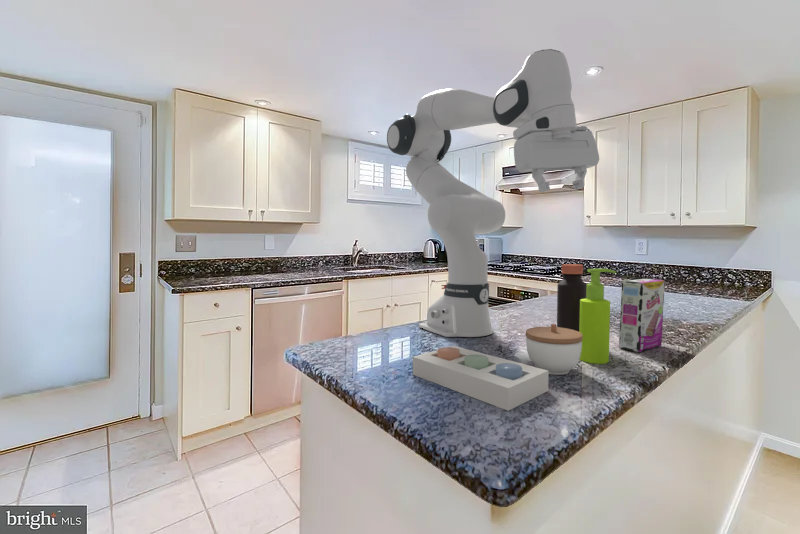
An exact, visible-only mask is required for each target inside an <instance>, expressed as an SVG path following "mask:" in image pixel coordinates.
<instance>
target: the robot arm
mask: <svg viewBox="0 0 800 534" xmlns="http://www.w3.org/2000/svg"><path fill="white" fill-rule="evenodd" d="M572 85H573V84H572V78H571V72H570V67H569V64H568V61H567V58H566V56H565V54H564V52H562V51H560V50H556V49H552V48H549V49H541V50H538V51H534V52H533V53H530V54H529V55H528V56H527V58H526V59H525V61H524V64H523V66H522V69H521V70H519V72H518V73H517V74H516V76H514V78H512V80H511V81H510V82H508V83H507V84H505V85H504V84H503V86H502V87H500V88H499V90H498V91H497V92H496V94H495V96H494V97H493V96H488V95H484V94H480V93H478V92H473V91H470V90H466V89H461V88H444V89H439V90H435V91H432V92H429V93H428V94H426V95H424V96H423V97H422V98H420V99H419V101H418V103H417V106H416V112H415V114H413V115H411V114H409V113H406V114H404V115H403V116H402V117H400V118H398V119H396V120H395V121H394V122H392V123H391V124H390V125H389V127H388V129H387V133H386V142H387V146H388V148H389V150H390V151H391V152H392V153H394V154H396V155H399V156H409V157H410V159H409V161H408V162H407V165H406V167H405V175H406V177H407V178H408V181H409V183H410V184H411V185H412V187H413V188H414V189H415V191H416V192H417V193H418V194H419V195H420V197H422V198H423V199H424V200H425V201H426V202H427V203H428V204H429V206H428V209H427V220H428V222H429V225H430V227H431V228H432V229H433V230H434V232H435V233H437V235H438V236H439V237H440V239H441V240H442V243H443V245H444V247H445V252H446V257H447V267H448V268H447V270H448V273H447V275H448V276H447V277H448V280H447V281H448V282H447V283H446V284H441V289H442V290H444V291H443V295H442V296H440V298H439V299H438V300H436V301H435V302H434V303H432V304H431V305H430V306H429V307H428V309H427V313H426V321H422V322H420V323H419V324H418V328H420V329H422V328H423V330H426V331H428V332H430V333H434V334H438V335H439V336H442V337H446V338H457V337H462V338H463V337H465V338H478V337H485V336H489V335H491V334H493V333H494V330H493V325H492V322H491V317H490V309H489V297H490V283H489V282H488V255H487V254H486V252H485V251H483V250H482V249H481V248H480V246H479V244H478V242H477V238H476V235H486V234H487V235H488V234H490V233H493V232H497V231H499V230H500V229H502V227H503V225H504V223H505V221H506V210H505V208H504V205H503V204H502V202H500V201H498V200H496V199H493V198H491V197H489V196H487V195H486V194H484V193H482V192H480V191H479V190H477V189H475V188H474V187H472V186H470V185H469V184H468V183H465V182H463V181H461V180H460V179H458V178H457V177H456V176H455V175H453V174H452V173H451V172H450V171H449V170H447V169H446V168H445V167H444V166H443V165H442V164H440V161H442V160H443V159H444V158H445V155H447V153H448V151H449V149H450V147H451V145H452V134H451V131H455V130H461V129H467V128H471V127H478V126H485V125H490V124H491V125H493V124H498V125H500V126H504V127H508V128H515V130H513V131H512V134H513V139H514V140H515V141H514V145H513V158H514V165H515V169H516V170H517V172H519V173H530V172H531V176H532V179H534V181H535V182H536V183H535V184H536V185H537V188H538V191H539V193H544V192H549V191H550V190H551V187H550V181H546V179H545V178H544V174H545V172H546V171H548V172H550V171H552V172H553V171H564V170H565V171H569V170H574V174H575V175H576V176H575V179H574V181H572V188H573V190H580V189H583V188H584V187H585V181H584V180H585V177H586V175H587V172H588V170H587V169H591V168H592V167H596V166H597V165H598V164H599V162H600V153H599V149H598V146H597V142H596V138H595V136H594V133H593V132H592V130H591V129H589V128H588V127H587V126H586V125H581V126H577V118H576V111H575V110H576V108H575V104H574V102H573V100H572V90H573V89H572V87H573V86H572Z"/></svg>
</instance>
